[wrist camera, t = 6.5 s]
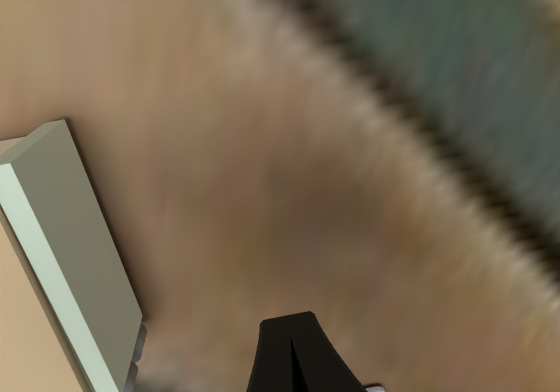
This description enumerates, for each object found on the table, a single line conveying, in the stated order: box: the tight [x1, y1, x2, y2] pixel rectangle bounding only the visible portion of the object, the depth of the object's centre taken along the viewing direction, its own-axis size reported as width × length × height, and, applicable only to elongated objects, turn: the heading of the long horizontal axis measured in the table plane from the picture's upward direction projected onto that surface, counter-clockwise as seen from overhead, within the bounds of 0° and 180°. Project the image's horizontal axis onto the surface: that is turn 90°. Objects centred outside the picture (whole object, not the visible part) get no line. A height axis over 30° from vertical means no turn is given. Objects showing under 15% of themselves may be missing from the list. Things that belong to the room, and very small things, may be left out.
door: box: [0, 119, 147, 392], centre depth 17 cm, size 11×1×5 cm, turn 10°
